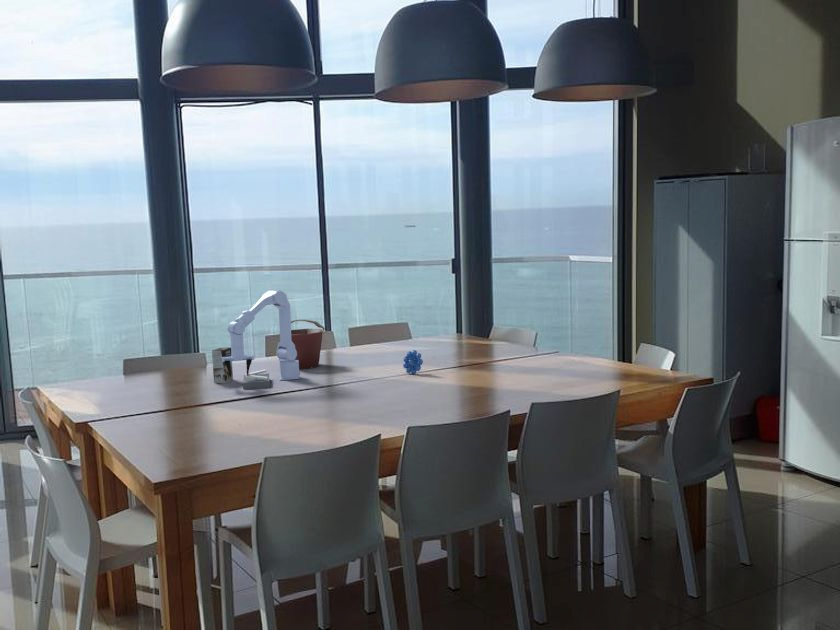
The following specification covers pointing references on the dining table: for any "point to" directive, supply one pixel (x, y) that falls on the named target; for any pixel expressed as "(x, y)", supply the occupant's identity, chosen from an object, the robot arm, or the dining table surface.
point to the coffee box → (221, 365)
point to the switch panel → (256, 382)
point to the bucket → (307, 345)
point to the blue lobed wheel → (412, 362)
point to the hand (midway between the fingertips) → (239, 375)
